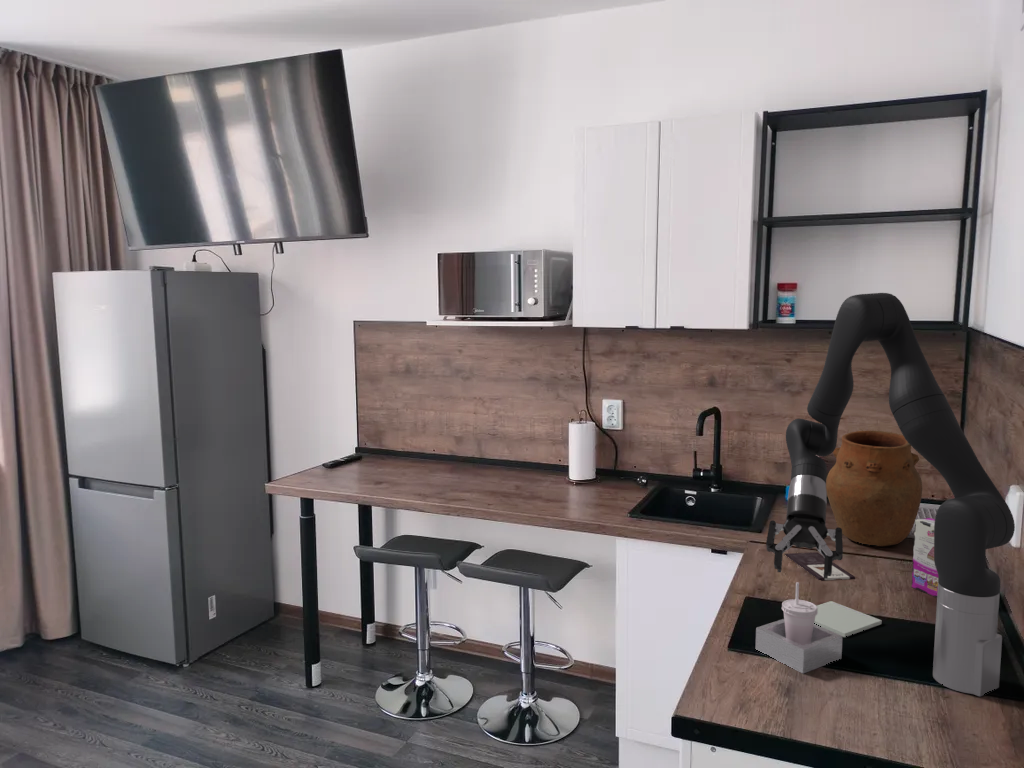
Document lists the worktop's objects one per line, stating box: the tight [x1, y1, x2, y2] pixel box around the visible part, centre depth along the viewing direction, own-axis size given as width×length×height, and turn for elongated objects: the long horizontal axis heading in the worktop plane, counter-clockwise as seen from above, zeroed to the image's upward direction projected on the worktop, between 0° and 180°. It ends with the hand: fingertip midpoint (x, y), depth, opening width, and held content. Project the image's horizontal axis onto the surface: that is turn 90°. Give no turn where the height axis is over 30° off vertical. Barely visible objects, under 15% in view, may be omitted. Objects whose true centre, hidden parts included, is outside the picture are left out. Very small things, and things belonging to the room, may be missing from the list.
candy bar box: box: [911, 517, 938, 598], centre depth 173 cm, size 11×5×16 cm, turn 21°
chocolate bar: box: [784, 551, 856, 581], centre depth 193 cm, size 9×1×18 cm
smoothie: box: [781, 581, 818, 646], centre depth 144 cm, size 6×6×14 cm
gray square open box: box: [755, 618, 843, 674], centre depth 145 cm, size 11×11×4 cm
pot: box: [826, 430, 923, 547], centre depth 211 cm, size 24×24×30 cm
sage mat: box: [814, 600, 882, 638], centre depth 161 cm, size 12×12×1 cm
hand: (802, 573), depth 150 cm, fingers open, 8 cm apart
